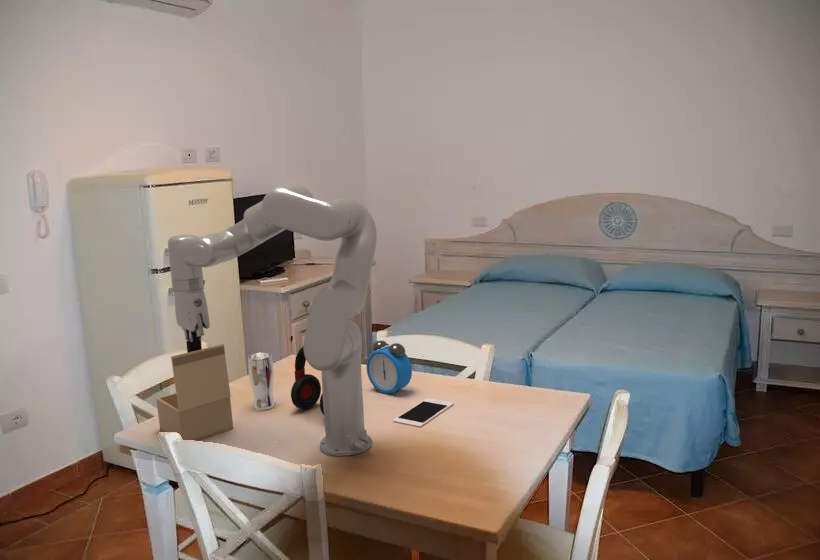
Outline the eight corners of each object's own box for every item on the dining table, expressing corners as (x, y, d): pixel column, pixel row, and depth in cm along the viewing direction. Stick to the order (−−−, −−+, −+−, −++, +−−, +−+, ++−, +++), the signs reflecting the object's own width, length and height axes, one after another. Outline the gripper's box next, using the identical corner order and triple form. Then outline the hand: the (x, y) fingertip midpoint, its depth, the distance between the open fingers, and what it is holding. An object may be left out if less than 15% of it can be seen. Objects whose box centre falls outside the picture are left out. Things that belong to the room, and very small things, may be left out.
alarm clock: (367, 390, 207) (364, 341, 204) (380, 384, 212) (377, 336, 209) (400, 398, 199) (398, 348, 196) (414, 391, 204) (411, 342, 201)
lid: (229, 396, 181) (230, 396, 181) (179, 411, 172) (180, 411, 172) (222, 344, 179) (223, 344, 179) (170, 356, 171) (172, 356, 170)
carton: (233, 428, 183) (230, 396, 181) (182, 445, 174) (178, 411, 172) (209, 414, 193) (205, 384, 192) (160, 430, 184) (156, 398, 183)
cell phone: (454, 405, 193) (454, 402, 193) (420, 429, 178) (420, 425, 178) (427, 400, 197) (427, 397, 197) (392, 423, 183) (391, 420, 182)
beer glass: (279, 401, 201) (275, 351, 198) (272, 410, 194) (268, 359, 192) (256, 401, 202) (251, 352, 199) (248, 410, 195) (243, 359, 192)
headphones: (287, 412, 193) (281, 342, 189) (314, 401, 200) (309, 334, 196) (329, 426, 181) (324, 353, 178) (356, 414, 189) (352, 344, 185)
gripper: (215, 286, 170) (222, 357, 173) (189, 278, 181) (196, 346, 185) (186, 291, 165) (193, 364, 169) (161, 283, 176) (168, 352, 180)
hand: (195, 355), depth 177 cm, fingers closed
